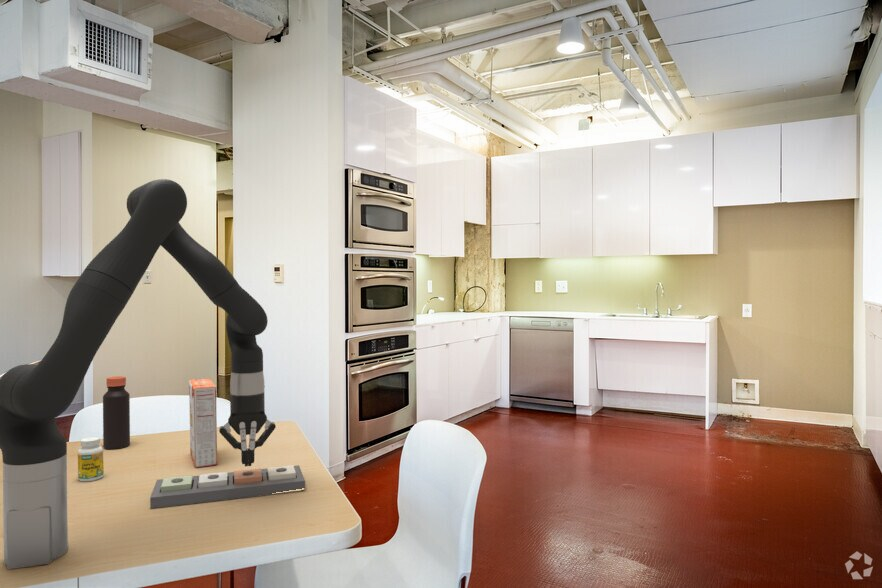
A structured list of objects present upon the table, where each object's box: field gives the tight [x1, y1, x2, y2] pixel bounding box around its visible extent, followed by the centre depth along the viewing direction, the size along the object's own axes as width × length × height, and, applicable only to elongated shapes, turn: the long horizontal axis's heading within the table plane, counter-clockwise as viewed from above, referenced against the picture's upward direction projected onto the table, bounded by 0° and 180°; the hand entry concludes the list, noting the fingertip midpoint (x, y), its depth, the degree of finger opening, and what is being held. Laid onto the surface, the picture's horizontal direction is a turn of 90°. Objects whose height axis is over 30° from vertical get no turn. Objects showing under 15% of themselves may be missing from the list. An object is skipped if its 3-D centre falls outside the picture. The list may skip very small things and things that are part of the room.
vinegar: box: [102, 375, 131, 450], centre depth 171 cm, size 7×7×20 cm
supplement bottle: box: [77, 436, 105, 482], centre depth 143 cm, size 5×5×10 cm
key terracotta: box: [233, 468, 262, 485], centre depth 137 cm, size 6×6×2 cm
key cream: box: [266, 464, 296, 481], centre depth 139 cm, size 6×6×2 cm
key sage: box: [161, 475, 194, 492], centre depth 132 cm, size 6×6×2 cm
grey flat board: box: [149, 464, 306, 509], centre depth 135 cm, size 12×32×2 cm, turn 110°
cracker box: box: [188, 378, 218, 469], centre depth 158 cm, size 14×6×21 cm, turn 27°
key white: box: [198, 471, 228, 488], centre depth 134 cm, size 6×6×2 cm
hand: (248, 465), depth 137 cm, fingers closed
